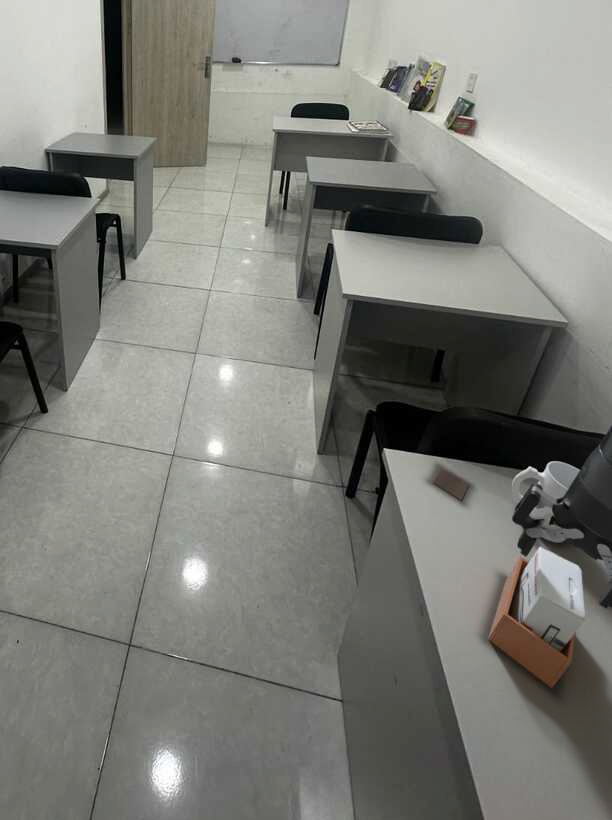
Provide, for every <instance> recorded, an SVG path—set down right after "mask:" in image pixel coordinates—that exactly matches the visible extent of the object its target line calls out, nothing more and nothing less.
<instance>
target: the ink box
mask: <svg viewBox="0 0 612 820" xmlns="http://www.w3.org/2000/svg"><path fill="white" fill-rule="evenodd" d="M583 584H584V583H583V571H582V569H581V568H580V566H579V565H578V564H576V563H574V562H572V561H570V560H568V559H567V558H565V557H563V556H560V555H558V554H557V553H555V552H552V550H551V551H550V550H548V549H547V548H545V547H542V546H539V547H538V548H537V549H536V551H535V553H534V554H533V556H532V558H531V559H530V560H529V563H528V565H527V566H526V568H525V569H524V571H523V573H522V574H521V576H520V577H519V579H518V580H517V583H516V586H515V590H514V593H513V597H512V600H511V604H510V607H509V611H508V615H509V616H511V617H512V618H513V619H515V620H516V621H518V622H519V623H520V624H522V625H523V626H525V627H526V628H527V629H529V630H530V631H531V632H533V633H534V634H536V635H537V636H538V637H540V638H541V639H543V640H544V641H545V642H547V643H548V644H549V645H551V646H552V647H554V648H555V649H556V650H558V651H559V652H561V650H562V649H563V648H564V646H565V645H566V644H567V643H568V641H569V640H570V639H571V638H572V636H573V635H574V634H575V632H576V633H577V631H578V630H579V628H580V627H581V626H582V624H583V623H584V622H585V621H586V608H585V607H586V606H585V598H584V597H585V596H584V587H583V586H584V585H583Z"/></svg>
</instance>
